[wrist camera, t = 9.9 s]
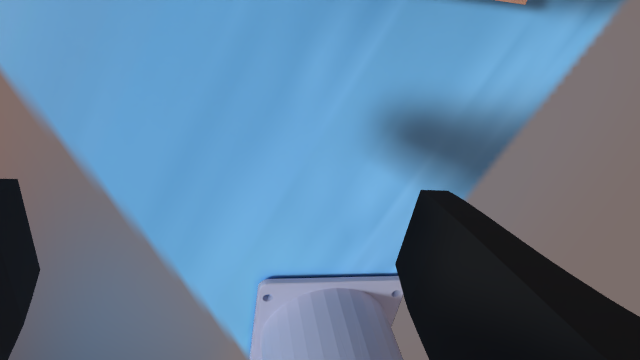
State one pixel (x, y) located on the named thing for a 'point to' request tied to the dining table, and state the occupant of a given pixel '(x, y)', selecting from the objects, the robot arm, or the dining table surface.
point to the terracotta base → (515, 1)
